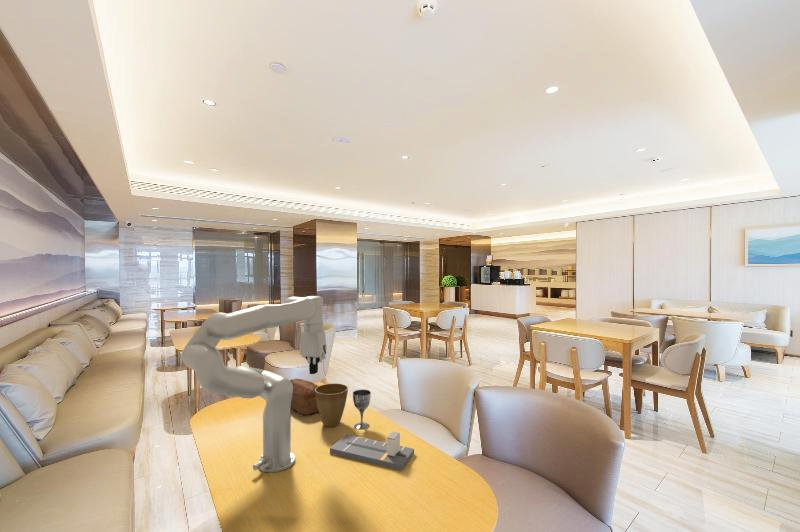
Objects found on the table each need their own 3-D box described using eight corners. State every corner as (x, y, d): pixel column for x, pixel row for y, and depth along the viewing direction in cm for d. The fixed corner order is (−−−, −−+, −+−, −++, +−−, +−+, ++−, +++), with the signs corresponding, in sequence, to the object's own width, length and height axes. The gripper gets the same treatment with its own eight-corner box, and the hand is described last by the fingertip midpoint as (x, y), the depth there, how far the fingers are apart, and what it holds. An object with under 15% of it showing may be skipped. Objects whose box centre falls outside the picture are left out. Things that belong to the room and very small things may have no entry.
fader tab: (394, 456, 127) (394, 438, 127) (386, 454, 128) (386, 437, 128) (399, 449, 132) (399, 432, 132) (392, 448, 133) (392, 431, 133)
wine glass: (349, 427, 155) (349, 393, 155) (359, 420, 162) (359, 388, 162) (364, 431, 152) (364, 396, 152) (374, 424, 159) (374, 391, 159)
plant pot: (345, 431, 152) (344, 394, 152) (311, 430, 152) (310, 394, 152) (350, 416, 167) (350, 382, 167) (319, 416, 167) (319, 382, 167)
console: (402, 471, 122) (402, 464, 122) (329, 453, 134) (329, 447, 134) (414, 454, 133) (414, 448, 133) (346, 439, 145) (346, 433, 145)
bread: (304, 419, 164) (304, 393, 164) (276, 402, 184) (276, 379, 184) (329, 410, 174) (329, 386, 174) (300, 395, 194) (300, 373, 194)
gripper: (292, 327, 139) (292, 373, 139) (323, 330, 133) (323, 378, 133) (304, 324, 146) (304, 368, 146) (334, 327, 140) (334, 372, 140)
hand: (313, 373), depth 139 cm, fingers closed
